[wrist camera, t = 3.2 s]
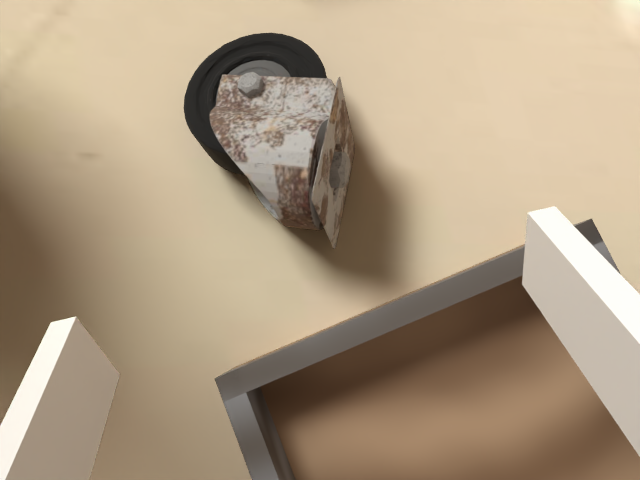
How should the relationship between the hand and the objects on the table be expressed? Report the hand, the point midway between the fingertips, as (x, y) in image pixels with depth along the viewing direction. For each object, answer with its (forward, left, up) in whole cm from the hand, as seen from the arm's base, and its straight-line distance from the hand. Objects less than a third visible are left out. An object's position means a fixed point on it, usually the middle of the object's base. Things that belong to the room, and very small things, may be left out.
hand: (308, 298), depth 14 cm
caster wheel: (-10, +1, -14) cm, 17 cm away
